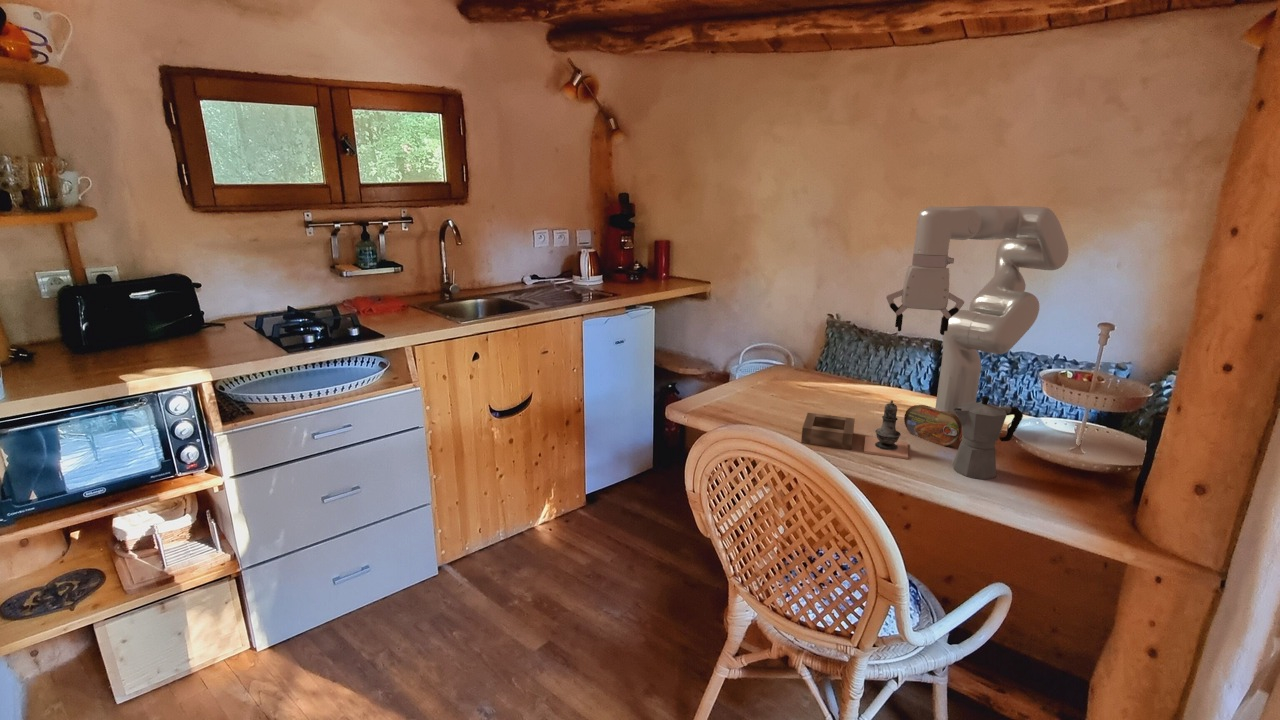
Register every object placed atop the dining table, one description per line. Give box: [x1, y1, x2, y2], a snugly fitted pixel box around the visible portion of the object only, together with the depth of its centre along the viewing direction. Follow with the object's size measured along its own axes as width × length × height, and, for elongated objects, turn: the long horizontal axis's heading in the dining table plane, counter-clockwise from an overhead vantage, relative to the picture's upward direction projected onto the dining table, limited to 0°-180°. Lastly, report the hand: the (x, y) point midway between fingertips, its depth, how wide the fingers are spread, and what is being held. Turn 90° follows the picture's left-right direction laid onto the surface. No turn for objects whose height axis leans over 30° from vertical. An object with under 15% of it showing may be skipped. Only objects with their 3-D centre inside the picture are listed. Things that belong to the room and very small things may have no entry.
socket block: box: [800, 412, 856, 451], centre depth 165 cm, size 12×12×4 cm
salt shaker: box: [874, 400, 901, 450], centre depth 158 cm, size 6×6×12 cm
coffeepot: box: [952, 395, 1024, 480], centre depth 145 cm, size 15×9×18 cm, turn 90°
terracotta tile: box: [863, 436, 909, 460], centre depth 159 cm, size 10×10×1 cm
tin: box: [903, 404, 963, 446], centre depth 165 cm, size 15×3×8 cm, turn 33°
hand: (920, 332), depth 158 cm, fingers open, 9 cm apart
